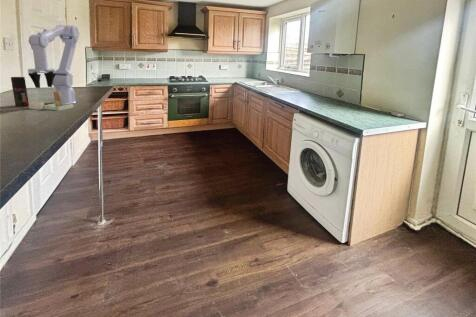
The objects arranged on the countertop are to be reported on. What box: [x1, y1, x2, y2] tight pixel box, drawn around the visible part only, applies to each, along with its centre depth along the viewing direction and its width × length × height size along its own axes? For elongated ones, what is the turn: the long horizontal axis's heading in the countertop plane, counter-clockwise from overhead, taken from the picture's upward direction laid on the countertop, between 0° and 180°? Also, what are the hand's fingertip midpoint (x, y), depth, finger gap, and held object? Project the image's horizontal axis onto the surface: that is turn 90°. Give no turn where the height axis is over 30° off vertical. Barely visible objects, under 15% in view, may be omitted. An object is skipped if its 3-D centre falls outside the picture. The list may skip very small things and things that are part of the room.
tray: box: [42, 103, 75, 111], centre depth 169 cm, size 11×9×2 cm
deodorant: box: [10, 76, 30, 108], centre depth 168 cm, size 6×6×15 cm
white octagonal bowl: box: [28, 101, 45, 110], centre depth 166 cm, size 7×7×3 cm
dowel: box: [53, 91, 62, 107], centre depth 167 cm, size 3×3×8 cm
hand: (43, 87), depth 168 cm, fingers open, 7 cm apart
